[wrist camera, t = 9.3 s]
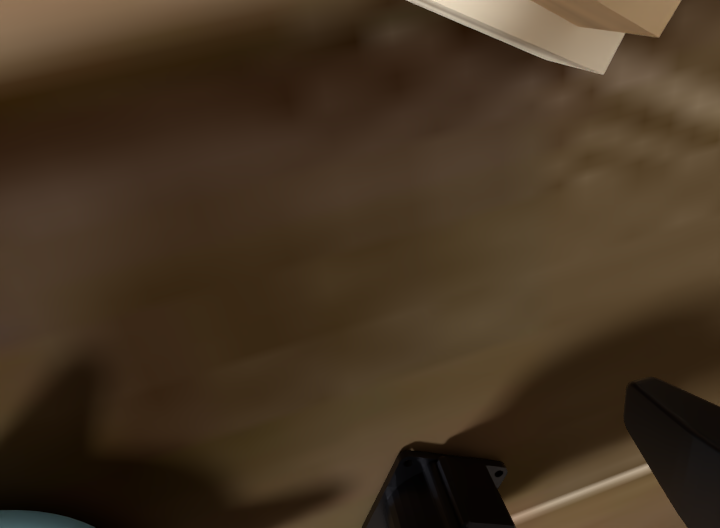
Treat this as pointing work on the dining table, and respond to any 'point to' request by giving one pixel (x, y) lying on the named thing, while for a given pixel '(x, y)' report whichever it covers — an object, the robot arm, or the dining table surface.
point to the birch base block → (533, 30)
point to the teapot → (37, 520)
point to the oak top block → (615, 14)
